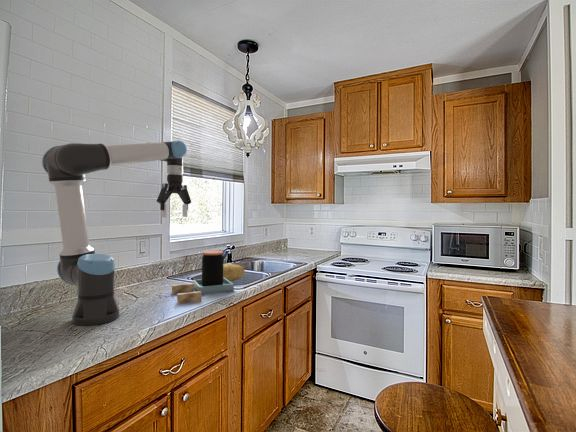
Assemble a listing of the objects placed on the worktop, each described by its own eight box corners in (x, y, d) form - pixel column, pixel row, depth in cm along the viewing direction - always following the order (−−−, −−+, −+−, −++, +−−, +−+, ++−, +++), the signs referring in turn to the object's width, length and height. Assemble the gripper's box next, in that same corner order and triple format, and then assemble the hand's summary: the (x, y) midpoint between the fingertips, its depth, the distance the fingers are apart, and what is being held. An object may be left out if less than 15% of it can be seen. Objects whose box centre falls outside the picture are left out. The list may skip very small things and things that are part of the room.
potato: (222, 277, 191) (222, 262, 191) (245, 279, 188) (246, 263, 188) (215, 281, 182) (215, 264, 181) (239, 283, 178) (239, 266, 178)
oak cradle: (177, 303, 140) (178, 294, 140) (171, 293, 157) (171, 284, 156) (201, 301, 144) (201, 292, 144) (192, 290, 161) (193, 283, 161)
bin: (199, 294, 155) (199, 287, 155) (192, 286, 170) (192, 280, 170) (233, 290, 162) (233, 284, 162) (224, 283, 178) (224, 277, 177)
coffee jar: (219, 283, 173) (220, 250, 173) (225, 288, 164) (226, 252, 163) (199, 285, 168) (200, 251, 168) (204, 290, 159) (204, 253, 158)
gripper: (160, 171, 149) (159, 217, 149) (198, 176, 171) (198, 216, 171) (148, 172, 152) (148, 217, 153) (187, 177, 174) (187, 216, 175)
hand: (174, 217), depth 162 cm, fingers open, 13 cm apart
